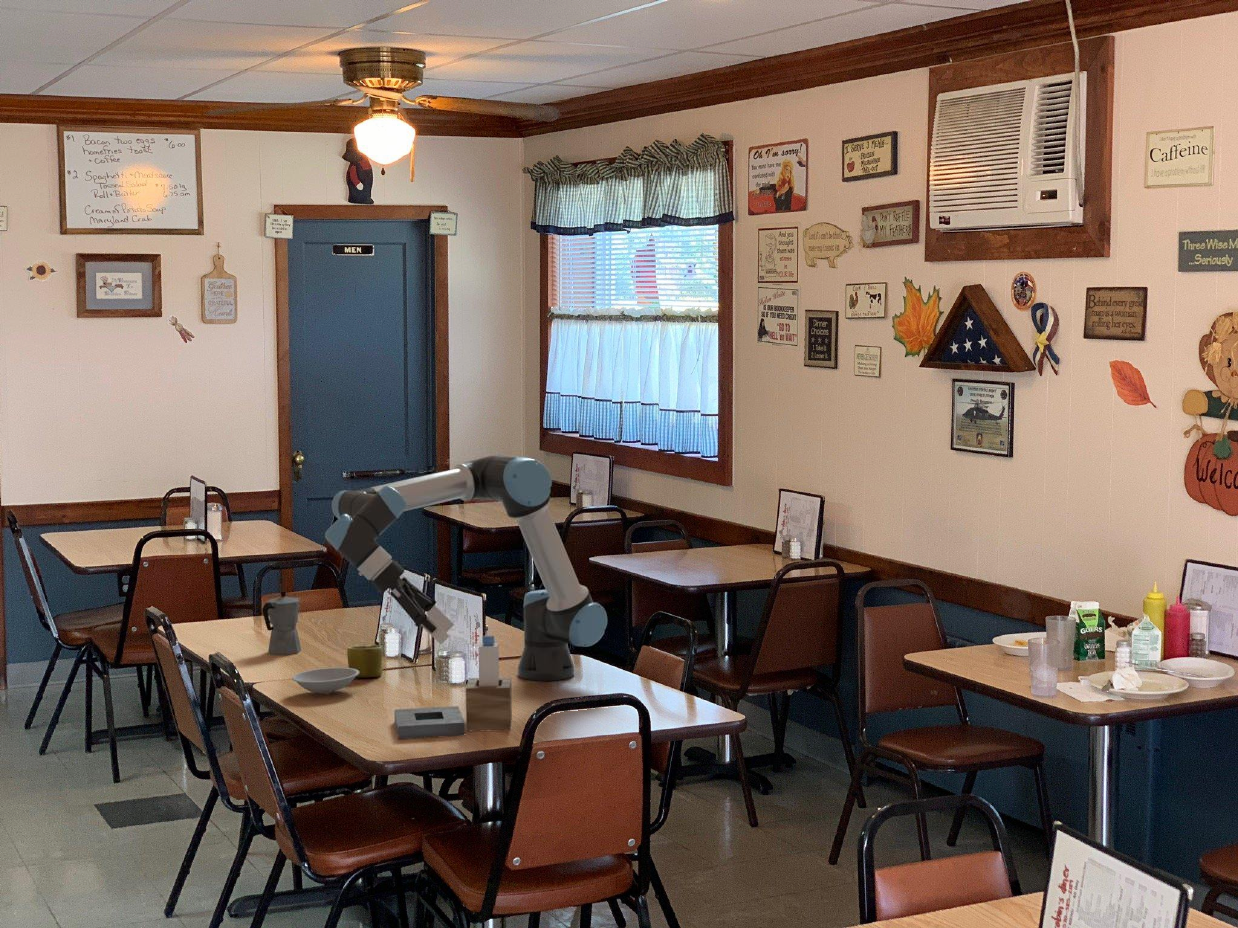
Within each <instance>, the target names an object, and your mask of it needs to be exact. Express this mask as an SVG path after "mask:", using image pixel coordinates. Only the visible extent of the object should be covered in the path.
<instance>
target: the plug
mask: <svg viewBox="0 0 1238 928" xmlns="http://www.w3.org/2000/svg"><path fill="white" fill-rule="evenodd" d="M499 644H500V643H499V642H495V635H491V634H489V635H486V634H485V635H483V636H482V642H479V644H478V678H479V686H499V678H500V664H499V661H500V655H499V653H500V652H499V651H500V649H499Z"/></svg>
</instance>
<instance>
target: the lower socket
mask: <svg viewBox="0 0 1238 928" xmlns="http://www.w3.org/2000/svg"><path fill="white" fill-rule="evenodd" d="M394 725H395V730H396V736H397V735H398V736H397V739H398V740H407V739H406V738H414V739H425V738H424V737H431V738H440V737H439V736H447V737H460V735H464V734H465V735H466V728H465V727H466V722H465V720H464V717H463V715H462V712H461V710H460V707H459V705H457V706H456V705H455V706H454V705H453V706H437V707H436V706H435V707H433V706H432V707H417V708H403V709H402V708H400V709H399V708H398V709H394ZM465 735H464V736H465Z"/></svg>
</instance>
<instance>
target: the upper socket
mask: <svg viewBox="0 0 1238 928" xmlns="http://www.w3.org/2000/svg"><path fill="white" fill-rule="evenodd" d="M512 700H513V699H512V677H499V686H479V677H469V678H468V681H467V684H466V688H465V705H466V706H465V709H466V711H465V712H466V713H465V716H466V717H465V718H466V722H465V727H466V728H465V732H471V731H470V730H510V731H511V728H510V727H511V726H512V721H511V720H512V719H513V718H512V717H513V716H512V715H513V714H512V713H513V711H512V710H513V709H512V707H513V705H512Z"/></svg>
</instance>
